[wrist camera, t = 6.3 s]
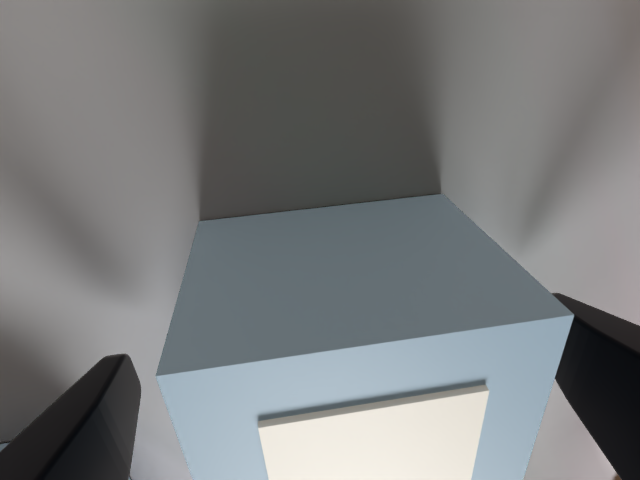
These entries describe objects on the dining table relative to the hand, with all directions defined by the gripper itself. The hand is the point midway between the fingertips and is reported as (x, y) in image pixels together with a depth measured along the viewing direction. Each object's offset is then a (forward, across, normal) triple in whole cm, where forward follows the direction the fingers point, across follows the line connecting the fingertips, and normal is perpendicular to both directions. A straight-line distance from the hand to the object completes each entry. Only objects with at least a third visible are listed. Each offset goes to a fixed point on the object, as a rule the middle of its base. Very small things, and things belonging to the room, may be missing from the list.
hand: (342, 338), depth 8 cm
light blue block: (+1, 0, 0) cm, 1 cm away
